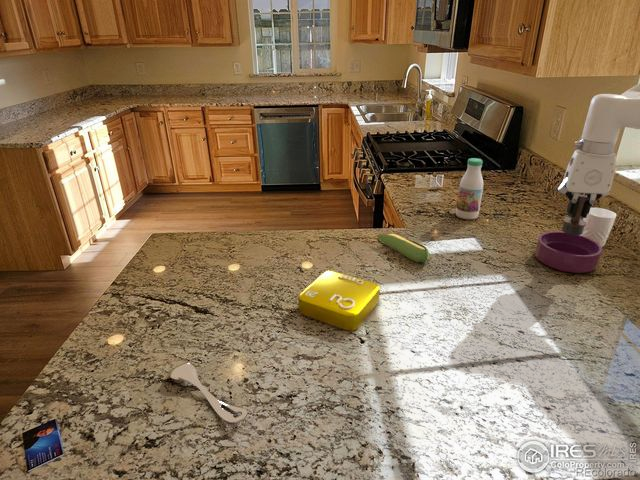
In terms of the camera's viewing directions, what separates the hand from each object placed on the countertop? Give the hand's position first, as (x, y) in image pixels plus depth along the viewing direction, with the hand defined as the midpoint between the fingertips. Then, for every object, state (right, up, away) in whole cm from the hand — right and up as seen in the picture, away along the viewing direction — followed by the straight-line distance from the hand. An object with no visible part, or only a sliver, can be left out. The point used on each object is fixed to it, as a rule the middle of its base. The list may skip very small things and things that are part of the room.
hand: (576, 215), depth 113 cm
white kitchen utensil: (-88, -35, -38) cm, 102 cm away
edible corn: (-44, -10, +11) cm, 47 cm away
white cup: (+14, -8, +16) cm, 23 cm away
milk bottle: (-17, +2, +36) cm, 40 cm away
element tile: (-64, -22, -13) cm, 69 cm away
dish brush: (0, -4, +2) cm, 5 cm away
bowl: (0, -12, +6) cm, 14 cm away
